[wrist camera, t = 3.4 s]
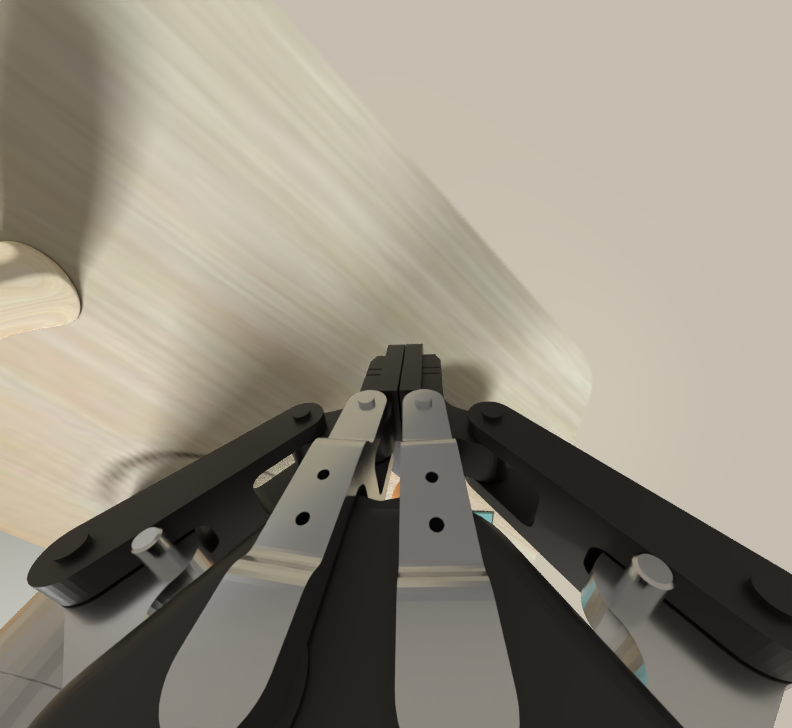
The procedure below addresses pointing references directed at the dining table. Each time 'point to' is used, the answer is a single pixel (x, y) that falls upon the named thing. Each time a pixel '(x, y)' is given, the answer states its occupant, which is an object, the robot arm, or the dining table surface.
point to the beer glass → (33, 291)
